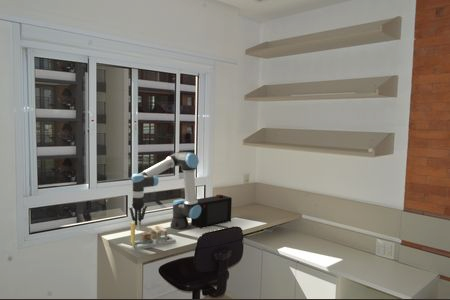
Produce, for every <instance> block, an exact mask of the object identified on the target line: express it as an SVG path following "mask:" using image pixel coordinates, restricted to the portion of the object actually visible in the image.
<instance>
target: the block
mask: <svg viewBox="0 0 450 300" xmlns="http://www.w3.org/2000/svg"><path fill="white" fill-rule="evenodd" d="M140 233H141V234H140V236H141V237H140V238H141V239H142V240H143V241H146V240H151V234H150V231H145V232H140Z"/></svg>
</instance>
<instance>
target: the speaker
mask: <svg viewBox="0 0 450 300" xmlns="http://www.w3.org/2000/svg"><path fill="white" fill-rule="evenodd" d="M232 199H233V198H232V197H230V196H227V195H223V194H216V195H214V196H207V197H203V198H201V197H200V198H196V200H197V201H198V205H200V206H201V214H200V215H199V217H198V218H196V219H192V218H190V219H191V220H190V221H191V223H190V225H191V226H193V227H196V228H198V229H204V228H209V227H213V226H218V225H221V224H225V223H230V222H232V203H233V200H232Z"/></svg>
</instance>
